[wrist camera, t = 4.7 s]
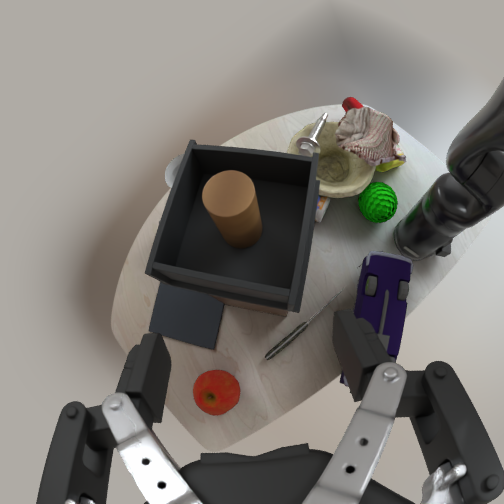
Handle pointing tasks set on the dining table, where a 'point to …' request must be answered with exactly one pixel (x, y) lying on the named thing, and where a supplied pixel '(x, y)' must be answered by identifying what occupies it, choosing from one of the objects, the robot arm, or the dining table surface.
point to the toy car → (384, 298)
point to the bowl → (336, 164)
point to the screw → (311, 138)
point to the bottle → (353, 103)
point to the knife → (291, 336)
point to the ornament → (378, 202)
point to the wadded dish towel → (368, 136)
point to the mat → (186, 316)
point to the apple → (216, 392)
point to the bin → (230, 258)
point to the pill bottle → (321, 207)
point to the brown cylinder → (233, 208)
